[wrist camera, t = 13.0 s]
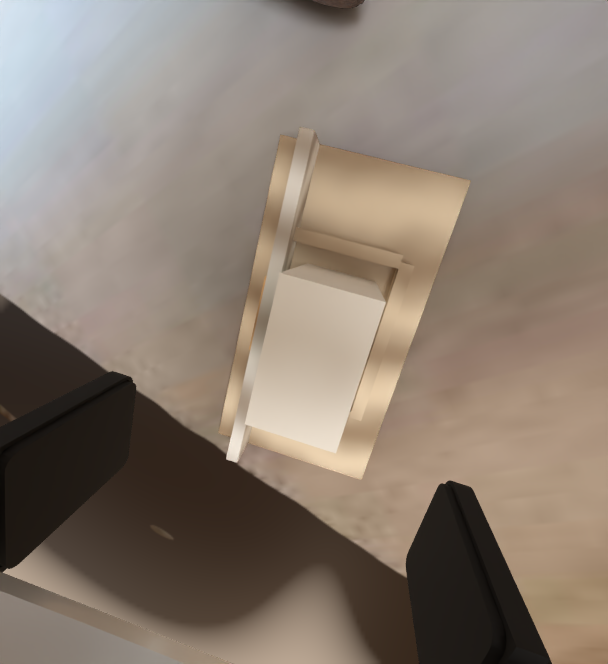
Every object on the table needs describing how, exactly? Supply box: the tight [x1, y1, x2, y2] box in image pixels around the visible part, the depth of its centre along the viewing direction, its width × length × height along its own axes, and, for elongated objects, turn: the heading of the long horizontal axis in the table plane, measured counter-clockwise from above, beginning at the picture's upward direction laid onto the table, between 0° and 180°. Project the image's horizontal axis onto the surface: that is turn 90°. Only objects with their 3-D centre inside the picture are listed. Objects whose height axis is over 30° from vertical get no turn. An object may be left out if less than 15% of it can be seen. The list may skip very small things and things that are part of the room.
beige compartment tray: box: [219, 127, 471, 480], centre depth 26 cm, size 26×14×4 cm, turn 165°
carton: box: [245, 263, 386, 453], centre depth 23 cm, size 6×9×10 cm, turn 165°
